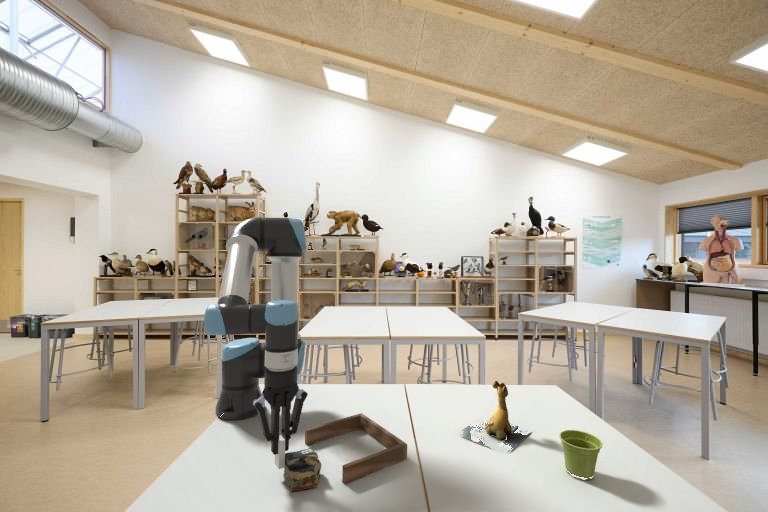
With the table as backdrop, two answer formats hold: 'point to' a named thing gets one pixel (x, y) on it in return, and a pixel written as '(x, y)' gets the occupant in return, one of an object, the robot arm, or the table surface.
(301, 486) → the rock
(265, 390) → the robot arm
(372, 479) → the table surface
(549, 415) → the table surface
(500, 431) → the stuffed giraffe
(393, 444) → the box
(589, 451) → the plant pot
